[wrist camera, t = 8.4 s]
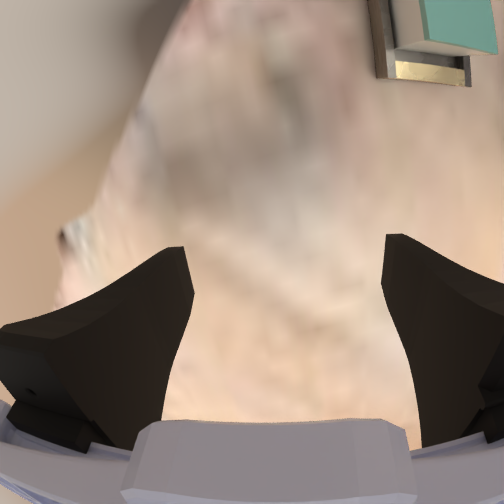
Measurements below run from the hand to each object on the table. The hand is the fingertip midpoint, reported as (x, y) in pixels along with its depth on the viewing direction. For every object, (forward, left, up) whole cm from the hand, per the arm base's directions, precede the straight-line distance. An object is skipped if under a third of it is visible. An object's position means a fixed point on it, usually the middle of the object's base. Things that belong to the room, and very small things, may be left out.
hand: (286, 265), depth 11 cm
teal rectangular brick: (-9, -12, -9) cm, 18 cm away
